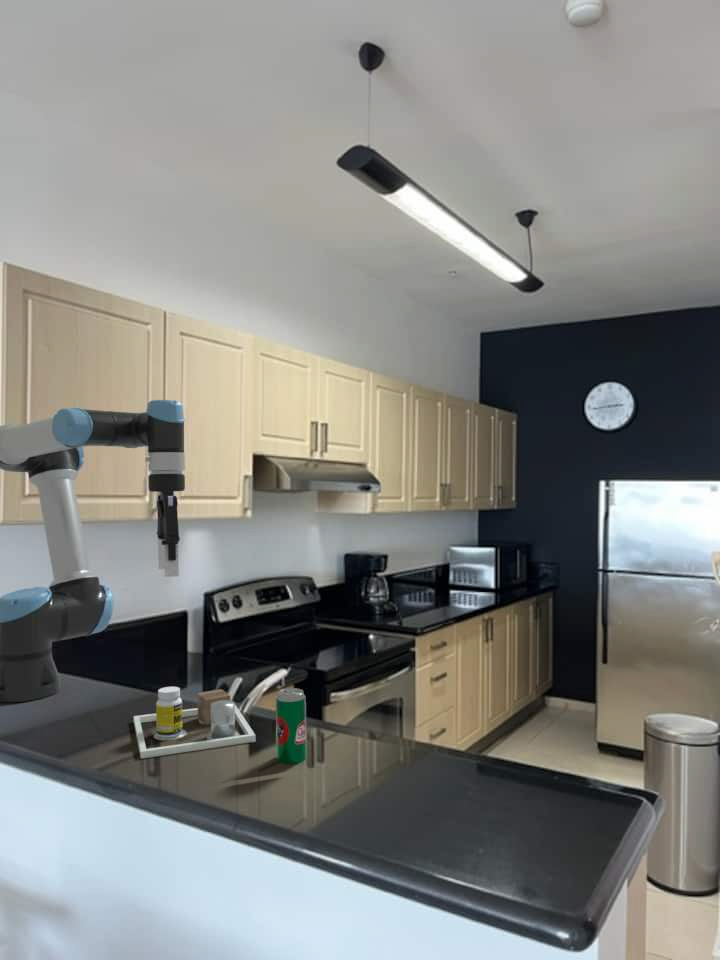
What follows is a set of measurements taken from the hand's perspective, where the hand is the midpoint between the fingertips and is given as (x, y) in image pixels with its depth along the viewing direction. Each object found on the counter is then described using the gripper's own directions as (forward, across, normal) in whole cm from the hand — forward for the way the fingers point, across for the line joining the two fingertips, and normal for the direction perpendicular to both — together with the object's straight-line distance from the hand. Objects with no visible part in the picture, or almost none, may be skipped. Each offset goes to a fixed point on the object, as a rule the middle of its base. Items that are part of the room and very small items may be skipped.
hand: (168, 572), depth 152 cm
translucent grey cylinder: (+28, +24, +7) cm, 38 cm away
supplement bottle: (+28, +19, -2) cm, 34 cm away
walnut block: (+28, +14, +7) cm, 32 cm away
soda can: (+29, +39, +16) cm, 51 cm away
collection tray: (+29, +19, +2) cm, 34 cm away
